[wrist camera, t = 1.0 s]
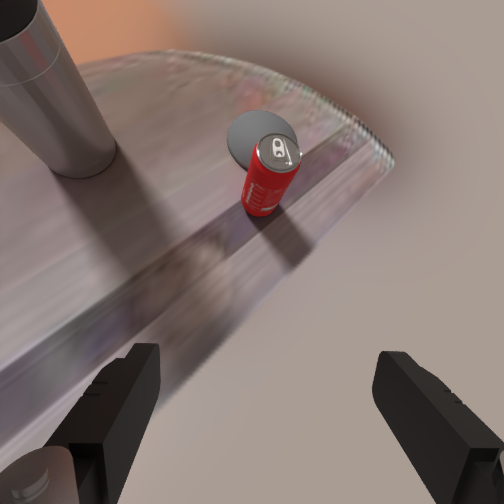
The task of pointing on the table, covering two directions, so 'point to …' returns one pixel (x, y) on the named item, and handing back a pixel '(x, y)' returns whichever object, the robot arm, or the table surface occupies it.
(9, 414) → the table surface
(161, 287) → the table surface
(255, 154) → the beverage can
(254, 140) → the rubber mat
